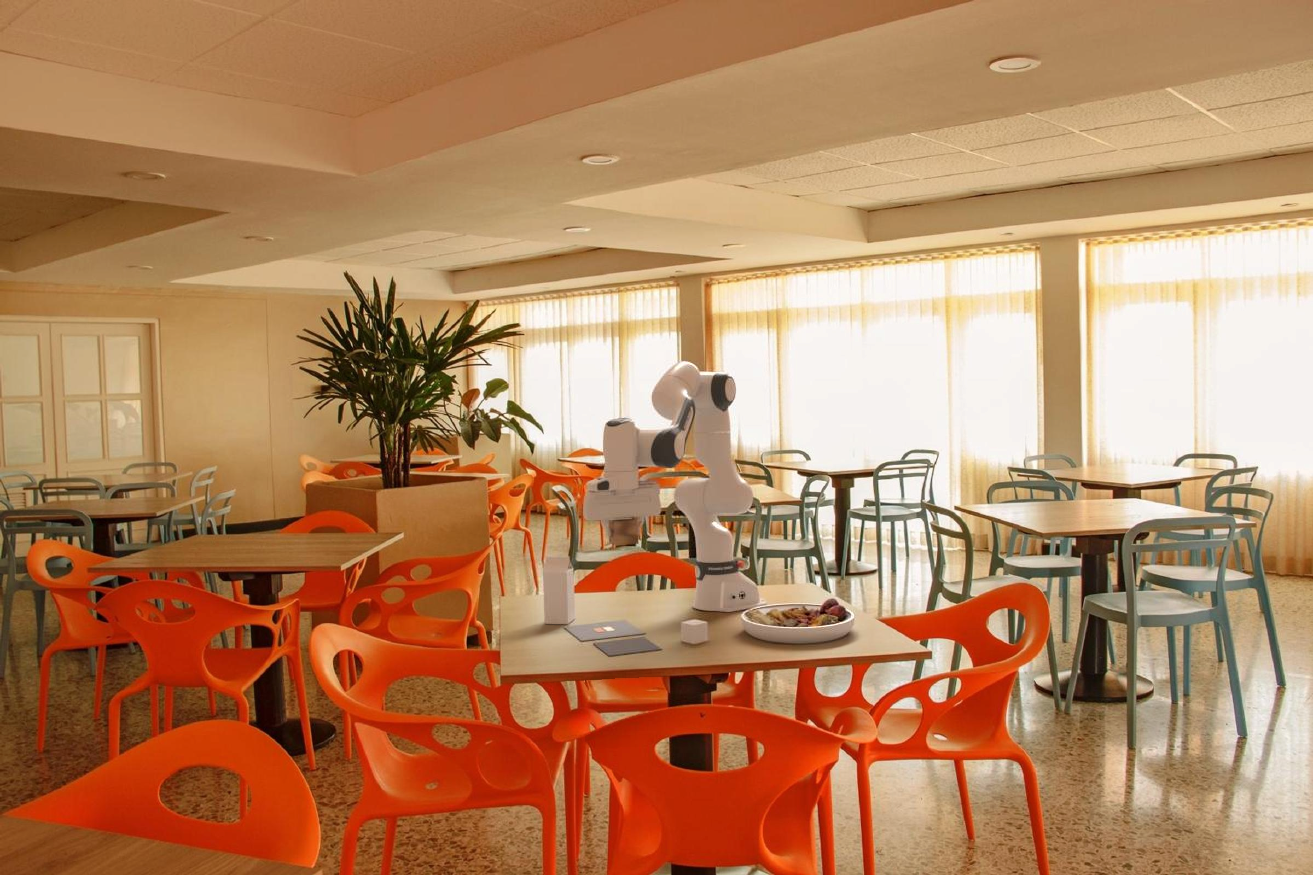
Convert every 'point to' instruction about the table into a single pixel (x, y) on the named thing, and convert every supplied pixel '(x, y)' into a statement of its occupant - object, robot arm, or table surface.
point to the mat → (627, 646)
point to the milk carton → (558, 591)
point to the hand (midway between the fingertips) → (623, 535)
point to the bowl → (798, 622)
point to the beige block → (694, 631)
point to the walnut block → (623, 531)
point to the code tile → (603, 630)
